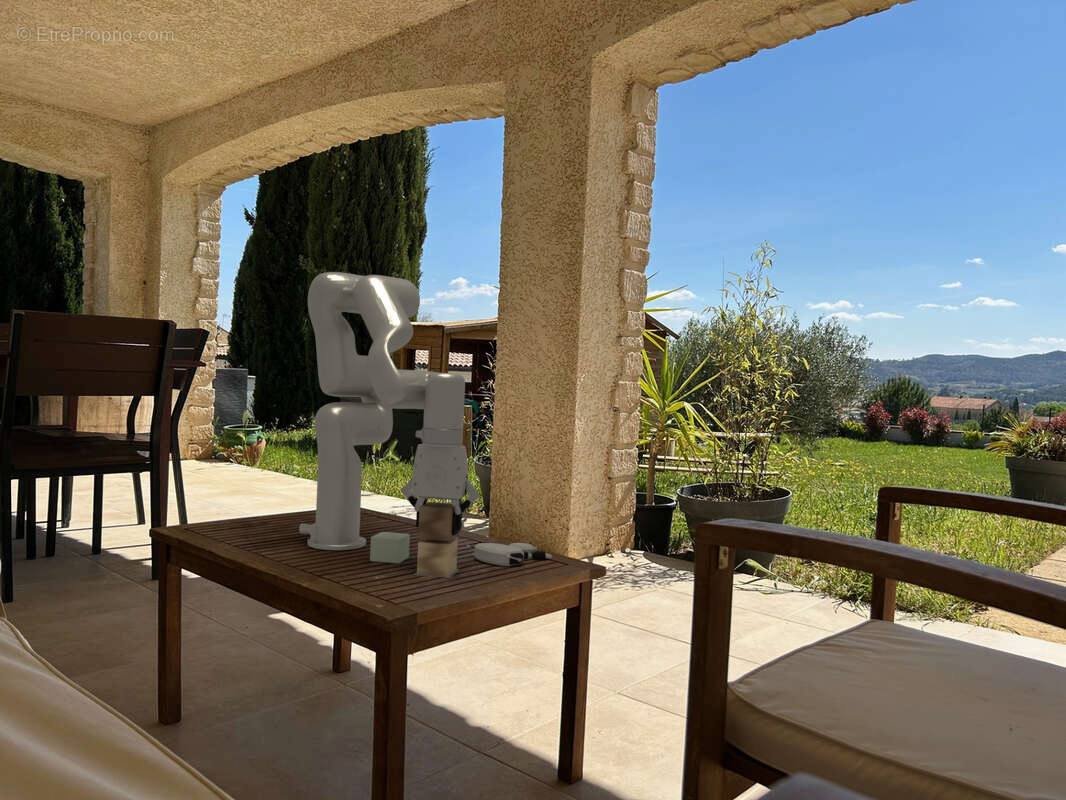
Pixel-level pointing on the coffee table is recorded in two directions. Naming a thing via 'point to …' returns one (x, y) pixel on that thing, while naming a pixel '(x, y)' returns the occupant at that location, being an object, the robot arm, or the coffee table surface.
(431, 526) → the walnut block
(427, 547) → the oak block
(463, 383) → the robot arm
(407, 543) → the sage block
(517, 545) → the robot toy
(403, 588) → the coffee table surface
